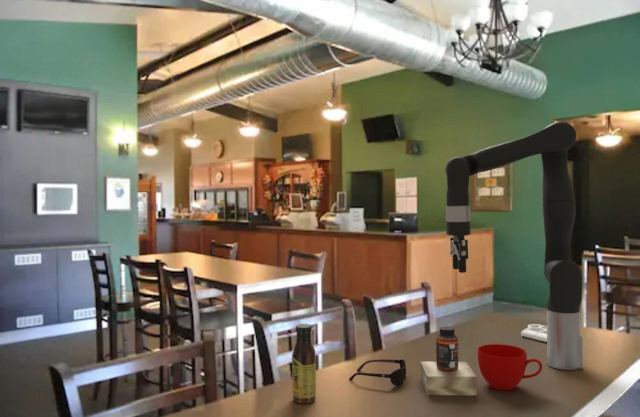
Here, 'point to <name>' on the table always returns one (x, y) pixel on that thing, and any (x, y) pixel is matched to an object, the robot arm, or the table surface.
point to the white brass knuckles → (535, 332)
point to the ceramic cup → (504, 365)
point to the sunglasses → (395, 376)
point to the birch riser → (448, 380)
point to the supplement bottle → (447, 349)
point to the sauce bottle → (303, 366)
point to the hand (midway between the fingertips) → (459, 270)
